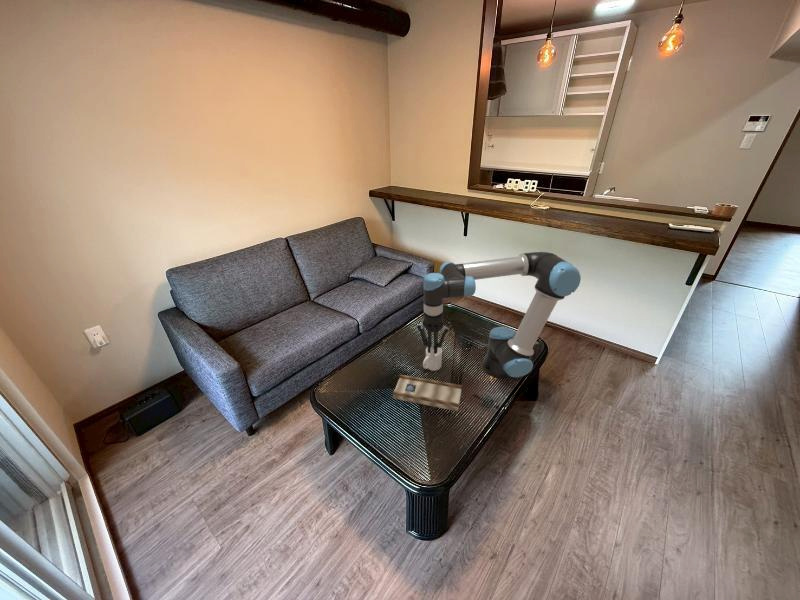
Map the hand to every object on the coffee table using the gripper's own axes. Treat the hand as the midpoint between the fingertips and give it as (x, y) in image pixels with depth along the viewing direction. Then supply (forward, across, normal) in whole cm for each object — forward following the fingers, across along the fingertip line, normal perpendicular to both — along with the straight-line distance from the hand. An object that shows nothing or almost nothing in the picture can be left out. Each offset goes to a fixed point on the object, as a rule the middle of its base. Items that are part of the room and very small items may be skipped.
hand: (432, 358), depth 130 cm
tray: (+22, +2, 0) cm, 22 cm away
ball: (+20, +10, 0) cm, 23 cm away
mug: (+23, +4, -19) cm, 30 cm away
